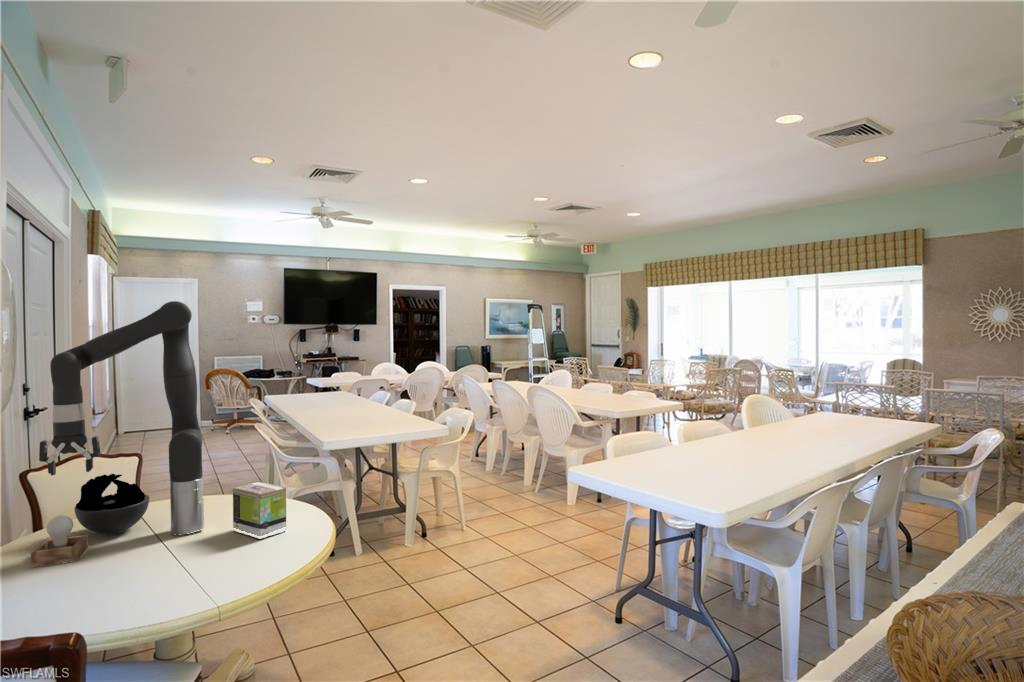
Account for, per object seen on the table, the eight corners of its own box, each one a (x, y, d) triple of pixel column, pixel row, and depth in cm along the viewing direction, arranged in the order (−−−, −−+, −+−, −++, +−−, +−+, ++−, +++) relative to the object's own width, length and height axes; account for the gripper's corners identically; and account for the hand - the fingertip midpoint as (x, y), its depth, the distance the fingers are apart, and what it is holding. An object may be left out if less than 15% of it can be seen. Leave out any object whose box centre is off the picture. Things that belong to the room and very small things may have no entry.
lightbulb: (55, 558, 161) (54, 519, 161) (42, 556, 163) (41, 518, 163) (79, 551, 167) (77, 513, 167) (65, 548, 169) (64, 512, 169)
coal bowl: (89, 525, 192) (88, 470, 191) (157, 519, 198) (156, 465, 198) (63, 547, 173) (62, 485, 172) (139, 539, 179) (138, 480, 178)
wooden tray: (89, 547, 172) (88, 534, 172) (77, 561, 162) (77, 547, 162) (44, 553, 168) (44, 539, 168) (29, 567, 158) (29, 553, 158)
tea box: (287, 531, 186) (287, 486, 186) (259, 541, 177) (259, 494, 177) (259, 523, 194) (259, 480, 194) (231, 532, 186) (231, 487, 185)
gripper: (34, 423, 162) (36, 479, 163) (94, 418, 168) (96, 473, 169) (43, 419, 169) (45, 473, 170) (101, 415, 175) (103, 467, 176)
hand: (71, 473), depth 169 cm, fingers open, 8 cm apart
